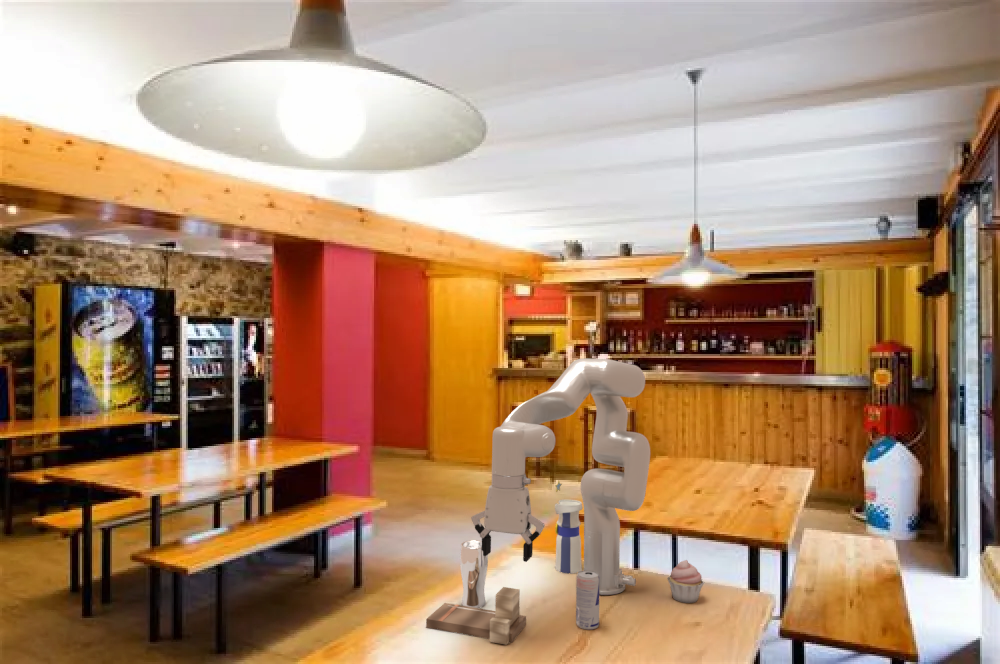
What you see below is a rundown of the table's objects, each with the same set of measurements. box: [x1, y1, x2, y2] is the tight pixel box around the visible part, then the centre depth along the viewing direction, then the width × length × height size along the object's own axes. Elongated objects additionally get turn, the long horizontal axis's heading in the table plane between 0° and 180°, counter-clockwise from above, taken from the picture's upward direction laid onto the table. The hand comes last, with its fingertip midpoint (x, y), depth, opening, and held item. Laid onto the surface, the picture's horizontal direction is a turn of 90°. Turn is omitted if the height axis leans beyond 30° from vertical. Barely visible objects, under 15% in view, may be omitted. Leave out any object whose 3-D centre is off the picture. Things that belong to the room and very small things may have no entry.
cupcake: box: [667, 559, 705, 604], centre depth 174 cm, size 9×9×10 cm
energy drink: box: [575, 569, 600, 631], centre depth 158 cm, size 5×5×12 cm
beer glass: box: [459, 539, 489, 609], centre depth 170 cm, size 7×7×15 cm
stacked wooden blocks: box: [489, 586, 521, 645], centre depth 153 cm, size 4×11×9 cm, turn 160°
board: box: [425, 602, 527, 643], centre depth 157 cm, size 21×10×2 cm, turn 69°
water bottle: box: [554, 480, 584, 575], centre depth 195 cm, size 8×9×25 cm
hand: (506, 557), depth 153 cm, fingers open, 9 cm apart
